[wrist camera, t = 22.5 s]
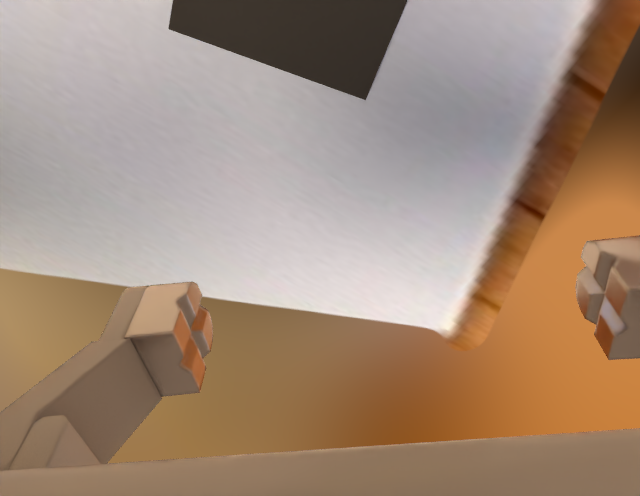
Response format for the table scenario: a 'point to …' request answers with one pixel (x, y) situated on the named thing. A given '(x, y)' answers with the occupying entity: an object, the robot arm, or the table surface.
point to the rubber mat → (299, 35)
